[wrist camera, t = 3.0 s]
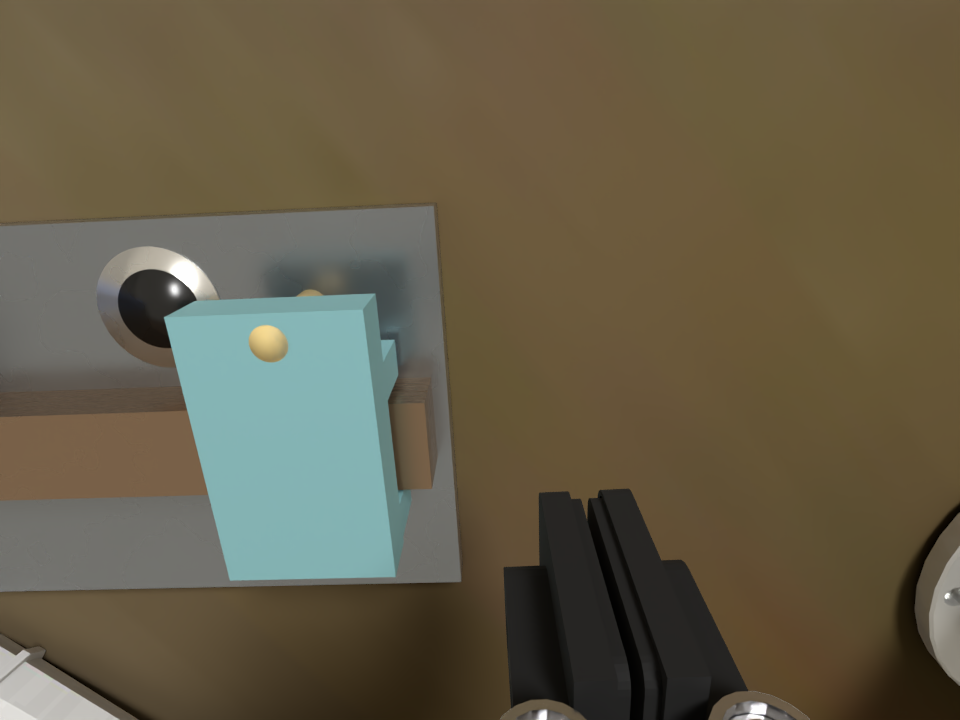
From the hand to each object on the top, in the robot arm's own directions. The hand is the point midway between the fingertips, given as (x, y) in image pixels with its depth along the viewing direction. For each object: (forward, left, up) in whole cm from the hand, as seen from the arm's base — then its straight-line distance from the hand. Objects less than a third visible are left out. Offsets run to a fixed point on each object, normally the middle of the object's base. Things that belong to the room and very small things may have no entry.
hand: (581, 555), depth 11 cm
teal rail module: (+7, 0, -8) cm, 11 cm away
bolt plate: (+15, +1, -10) cm, 18 cm away
